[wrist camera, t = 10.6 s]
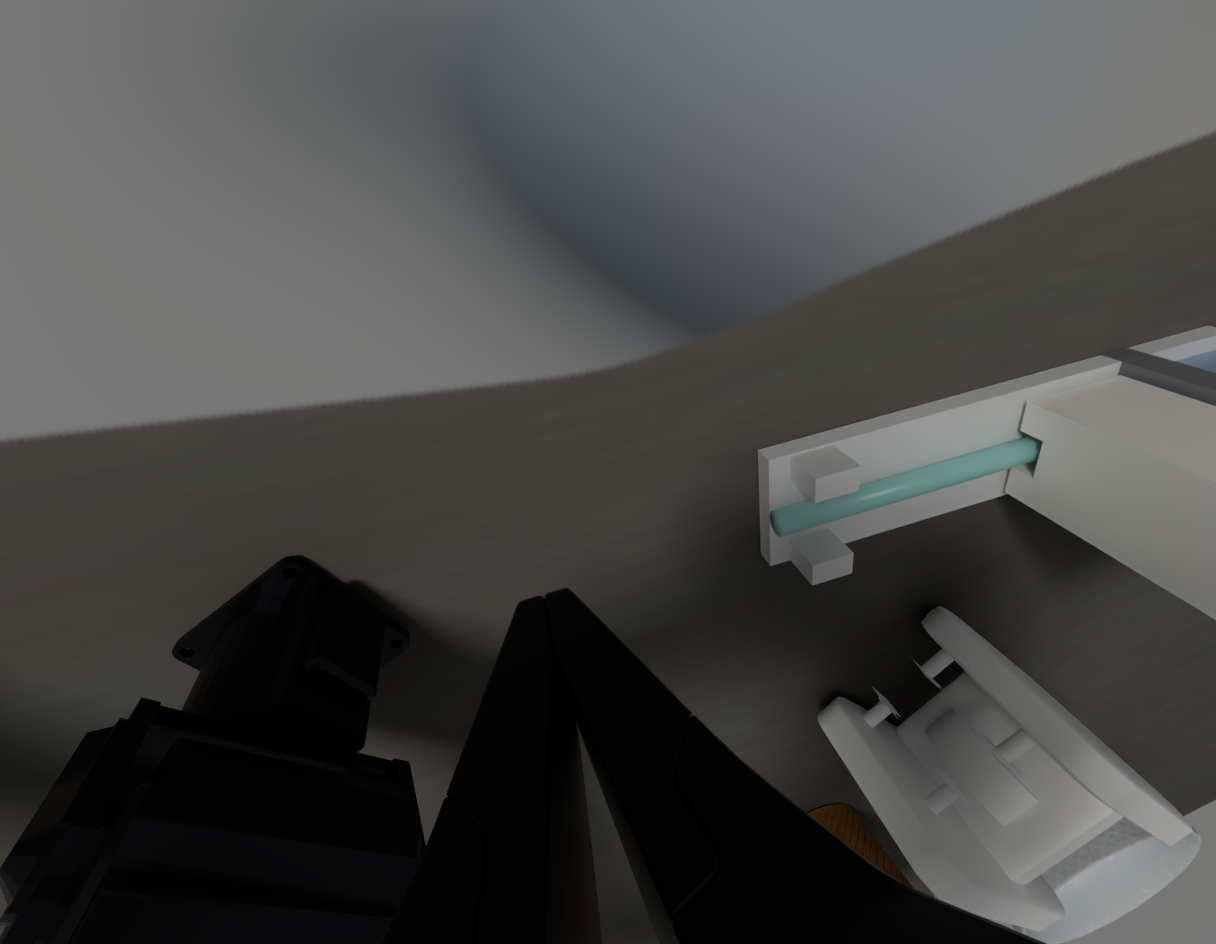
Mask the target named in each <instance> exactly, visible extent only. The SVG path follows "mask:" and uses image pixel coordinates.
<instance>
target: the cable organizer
mask: <svg viewBox="0 0 1216 944" xmlns="http://www.w3.org/2000/svg"><path fill="white" fill-rule="evenodd" d="M921 623H922V625H923V627H924V628H925V630H926V631H927V632H928V634H929V635H930V636H931V637H932V638H933V639H934V640H935V641H936V642H937V643H938V644H939V645H940V646H941V647H942V649H941V650H940V651H938V652H937V653H936V654H935V655H934V656H933V657H931V658H930V659H929V660H928V661H927V662H925V663H924V664H923V665H922V666H920V665H919V664H918V663H917V662H916V661H915V660H914V659H913V658H912V657H911V656H910V657H911V658H912V659H913V661H914V662H915V663H916V664H917V666H918V667H919V668H920V670H921V671H922V672H923V674H924V675H925V676H926V677H927V678H928V679H929V680H930V681H931V682H933V683H934V684H935V685H936V686H937V687H938V688H939V689H940V687H941V686H940V685H939V684H938V683H937V682H936V681H935V680H934V679H933V678H934V677H935V676H936V675H937V674H938V673H940V672H941V671H942V670H943V669H944V668H946V667H947V666H948V665H949V664H950V663H952V662H953V661H954V660H955V661H956V662H957V663H958V664H959V665H960V666H961V667H962V668H963V669H964V670H965V671H964V672H963V673H962V674H961V675H960V676H958V677H957V678H956V679H955V680H954V681H952V682H951V683H950V684H949V685H947V686H946V687H945V688H944V689H943V690H941V691H940V692H939V693H938V694H937V695H935V696H934V697H933V698H932V699H930V700H929V701H928V702H927V703H926V704H924V705H923V706H922V707H921V708H920V709H918V710H917V711H916V712H915V713H914V714H912V715H911V716H910V717H909V718H907V719H906V720H905V721H904V722H903V723H901V724H900V725H899V726H898V727H897V726H895V725H893V724H891V723H889V722H888V721H886V720H884V719H885V718H886V717H887V716H888V715H889V714H891V713H893V714H894V715H895V716H896V714H897V715H898V716H900V715H899V714H898V713H897V711H896V710H895V709H894V707H893V706H892V705H891V704H890V702H889V701H888V700H887V699H886V698H885V696H882V695H881V694H880V693H879V692H878V691H877V690H876V689H875V688H874V687H873V686H872V687H873V689H874V690H875V691H876V693H877V694H878V695H879V699H880V701H879V702H878V703H877V704H876V705H875V706H873V707H872V708H871V709H870V710H869V711H868V710H866V709H864V708H862V707H861V706H859V705H857V704H855V703H853V702H852V701H850V700H848V699H846V698H843V697H837V698H835V699H834V700H833V701H832V702H831V703H830V704H829V705H828V706H826V707H825V708H824V709H823V710H822V711H821V712H819V714H818V721H819V724H820V726H821V728H822V730H823V731H824V733H825V734H826V736H827V737H828V739H829V741H830V742H831V744H832V745H833V747H834V748H835V750H836V751H837V753H838V754H839V756H840V758H841V759H842V761H843V762H844V764H845V765H846V767H847V768H848V770H849V771H850V773H851V775H852V776H853V778H854V779H855V781H856V782H857V784H858V785H859V787H860V788H861V790H862V791H863V793H864V795H865V796H866V798H867V799H868V801H869V802H870V804H871V805H872V807H873V808H874V810H875V812H876V813H877V815H878V816H879V818H880V819H881V821H882V822H883V824H884V825H885V827H886V828H887V830H888V832H889V833H890V835H891V836H892V838H893V839H894V841H895V842H896V844H897V845H898V847H899V849H900V850H901V852H902V853H903V855H904V856H905V858H906V859H907V861H908V862H909V864H910V865H911V867H912V868H913V870H914V871H915V873H916V874H917V875H918V876H919V878H920V879H921V880H922V881H923V882H924V884H925V885H926V886H927V887H928V888H929V889H930V890H931V891H932V893H933V894H934V898H937V899H939V900H941V901H944V902H946V903H949V904H951V905H954V906H956V907H959V908H961V909H964V910H966V911H968V912H971V913H973V914H976V915H978V916H981V917H984V918H988V919H992V920H996V921H1000V922H1004V923H1008V924H1012V925H1016V926H1019V927H1023V928H1027V929H1031V930H1035V931H1042V930H1044V929H1045V928H1047V927H1048V926H1050V925H1051V924H1053V923H1054V922H1056V921H1057V920H1059V919H1060V918H1062V917H1063V916H1065V911H1064V908H1063V905H1062V903H1061V902H1060V900H1059V898H1058V897H1057V895H1056V894H1055V892H1054V891H1053V889H1052V888H1051V887H1050V885H1049V884H1048V883H1047V882H1046V881H1045V879H1044V878H1043V877H1042V876H1041V874H1042V873H1044V872H1045V871H1047V870H1048V869H1050V868H1051V867H1053V866H1054V865H1055V864H1057V863H1058V862H1060V861H1061V860H1063V859H1064V858H1066V857H1067V856H1069V855H1070V854H1071V853H1073V852H1074V851H1076V850H1077V849H1079V848H1080V847H1082V846H1083V845H1084V844H1086V843H1087V842H1089V841H1090V840H1092V839H1093V838H1095V837H1096V836H1097V835H1099V834H1100V833H1102V832H1103V831H1105V830H1106V829H1108V828H1109V827H1111V826H1112V825H1113V824H1115V823H1116V822H1118V821H1119V820H1120V819H1122V818H1123V817H1125V818H1126V819H1128V820H1129V821H1131V822H1133V823H1134V824H1136V825H1137V826H1139V827H1140V828H1142V829H1143V830H1145V831H1146V832H1148V833H1149V834H1151V835H1152V836H1154V837H1155V838H1157V839H1158V840H1160V841H1161V842H1163V843H1165V844H1166V845H1168V846H1172V845H1174V844H1175V843H1177V842H1178V841H1180V840H1181V839H1183V838H1184V837H1186V836H1187V835H1189V834H1190V833H1192V832H1193V829H1192V827H1191V826H1190V824H1189V823H1188V822H1187V820H1186V819H1185V818H1184V817H1183V816H1182V815H1181V814H1180V813H1179V812H1178V811H1177V810H1176V809H1175V808H1174V807H1173V806H1172V805H1171V804H1170V803H1169V802H1168V801H1167V800H1166V799H1165V798H1164V797H1163V796H1162V795H1161V794H1160V793H1159V792H1157V791H1156V790H1155V789H1154V788H1153V787H1152V786H1151V785H1150V784H1149V783H1147V782H1146V781H1145V780H1144V779H1143V778H1142V777H1141V776H1140V775H1138V774H1137V773H1136V772H1135V771H1134V770H1133V769H1132V768H1131V767H1130V766H1128V765H1127V764H1126V763H1125V762H1124V761H1123V760H1122V759H1121V758H1120V757H1118V756H1117V755H1116V754H1115V753H1114V752H1113V751H1112V750H1111V749H1110V748H1108V747H1107V746H1106V745H1105V744H1104V743H1103V742H1102V741H1101V740H1100V739H1098V738H1097V737H1096V736H1095V735H1094V734H1093V733H1092V732H1091V731H1090V730H1088V729H1087V728H1086V727H1085V726H1084V725H1083V724H1082V723H1081V722H1080V721H1078V720H1077V719H1076V718H1075V717H1074V716H1073V715H1072V714H1071V713H1070V712H1068V711H1067V710H1066V709H1065V708H1064V707H1063V706H1062V705H1061V704H1060V703H1058V702H1057V701H1056V700H1055V699H1054V698H1053V697H1052V696H1051V695H1050V694H1048V693H1047V692H1046V691H1045V690H1044V689H1043V688H1042V687H1041V686H1040V685H1038V684H1037V683H1036V682H1035V681H1034V680H1033V679H1032V678H1030V677H1029V676H1028V675H1027V674H1026V673H1024V672H1023V671H1022V670H1021V669H1020V668H1018V667H1017V666H1016V665H1015V664H1014V663H1013V662H1011V661H1010V660H1009V659H1008V658H1007V657H1005V656H1004V655H1003V654H1002V653H1001V652H999V651H998V650H997V649H996V648H995V647H993V646H992V645H991V644H990V643H989V642H987V641H986V640H985V639H984V638H983V637H981V636H980V635H979V634H978V633H977V632H976V631H974V630H973V629H972V628H971V627H970V626H968V625H967V624H966V623H965V622H964V621H962V620H961V619H960V618H958V617H957V616H956V615H954V614H953V613H952V612H950V611H949V610H947V609H945V608H943V607H941V606H938V607H937V608H936V609H933V610H932V611H930V612H929V613H928V614H927V615H926V618H924V619H923V620H922V621H921ZM939 686H940V687H939ZM941 688H942V687H941ZM895 713H896V714H895ZM900 717H901V716H900ZM896 718H897V716H896ZM897 719H898V718H897Z"/></svg>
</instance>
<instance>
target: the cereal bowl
mask: <svg viewBox="0 0 1216 944" xmlns="http://www.w3.org/2000/svg"><path fill="white" fill-rule="evenodd" d="M1190 826H1191V825H1190ZM1191 827H1192V826H1191ZM1192 829H1193V832H1192V833H1190V834H1189V835H1187V836H1186V837H1184V838H1183V839H1181V840H1180V841H1178V842H1177V843H1175V844H1174V845H1172V846H1168V845H1166V844H1165V843H1163V842H1161V841H1160V840H1158V839H1157V838H1155V837H1154V836H1152V835H1151V834H1149V833H1148V832H1146V831H1145V830H1143V829H1142V828H1140V827H1139V826H1137V825H1136V824H1134V823H1133V822H1131V821H1129V820H1128V819H1126V818H1125V817H1123V818H1122V819H1120V820H1119V821H1118V822H1116V823H1115V824H1113V825H1112V826H1111V827H1109V828H1108V829H1106V830H1105V831H1103V832H1102V833H1100V834H1099V835H1097V836H1096V837H1095V838H1093V839H1092V840H1090V841H1089V842H1087V843H1086V844H1084V845H1083V846H1082V847H1080V848H1079V849H1077V850H1076V851H1074V852H1073V853H1071V854H1070V855H1069V856H1067V857H1066V858H1064V859H1063V860H1061V861H1060V862H1058V863H1057V864H1055V865H1054V866H1053V867H1051V868H1050V869H1048V870H1047V871H1045V872H1044V873H1042V874H1041V876H1042V877H1043V878H1044V879H1045V881H1046V882H1047V883H1048V884H1049V885H1050V887H1051V888H1052V889H1053V891H1054V892H1055V894H1056V895H1057V897H1058V898H1059V900H1060V902H1061V903H1062V905H1063V908H1064V911H1065V916H1063V917H1062V918H1060V919H1059V920H1057V921H1056V922H1054V923H1053V924H1051V925H1050V926H1048V927H1047V928H1045V929H1044V930H1042V931H1035V930H1031V929H1027V928H1023V927H1019V926H1016V925H1012V926H1013V927H1014V928H1015V930H1016V931H1017V932H1020V933H1022V934H1025V935H1027V936H1030V937H1032V938H1035V939H1037V940H1039V941H1042V942H1044V943H1047V944H1061V943H1064V942H1067V941H1070V940H1073V939H1076V938H1079V937H1081V936H1084V935H1086V934H1088V933H1091V932H1093V931H1095V930H1097V929H1099V928H1101V927H1103V926H1105V925H1107V924H1109V923H1111V922H1113V921H1115V920H1116V919H1118V918H1120V917H1122V916H1123V915H1125V914H1126V913H1128V912H1130V911H1131V910H1133V909H1134V908H1136V907H1138V906H1139V905H1141V904H1142V903H1144V902H1145V901H1147V900H1148V899H1149V898H1151V897H1152V896H1153V895H1155V894H1156V893H1157V892H1159V891H1160V890H1161V889H1163V888H1164V887H1165V886H1166V885H1168V884H1169V883H1170V882H1171V881H1172V880H1174V879H1175V878H1176V877H1177V876H1178V875H1179V874H1180V873H1181V872H1182V871H1183V870H1184V869H1185V868H1186V867H1187V866H1188V865H1189V864H1190V862H1191V861H1192V860H1193V859H1194V857H1195V856H1196V854H1197V853H1198V851H1199V849H1200V846H1201V837H1200V835H1199V834H1198V832H1197V831H1196V830H1195V829H1194V828H1193V827H1192Z"/></svg>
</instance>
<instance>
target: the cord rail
mask: <svg viewBox="0 0 1216 944" xmlns="http://www.w3.org/2000/svg"><path fill="white" fill-rule="evenodd" d="M1119 375H1122V376H1125V377H1128V378H1131V379H1134V380H1137V381H1140V382H1143V383H1146V384H1149V385H1152V386H1155V387H1159V388H1162V389H1165V390H1168V391H1171V392H1174V393H1177V394H1180V395H1183V396H1186V397H1189V398H1192V399H1195V400H1198V401H1201V402H1204V403H1208V404H1211V405H1214V406H1216V327H1212V326H1205V327H1201V328H1198V329H1194V330H1190V331H1187V332H1183V333H1179V334H1176V335H1172V336H1169V337H1165V338H1161V339H1158V340H1154V341H1151V342H1147V343H1143V344H1140V345H1136V346H1132V347H1129V348H1125V349H1122V350H1118V351H1114V352H1111V353H1107V354H1103V355H1100V356H1096V357H1093V358H1089V359H1085V360H1082V361H1078V362H1074V363H1071V364H1067V365H1064V366H1060V367H1056V368H1053V369H1049V370H1046V371H1042V372H1038V373H1035V374H1031V375H1027V376H1024V377H1020V378H1017V379H1013V380H1009V381H1006V382H1002V383H998V384H995V385H991V386H988V387H984V388H980V389H977V390H973V391H970V392H966V393H962V394H959V395H955V396H951V397H948V398H944V399H941V400H937V401H933V402H930V403H926V404H922V405H919V406H915V407H912V408H908V409H904V410H901V411H897V412H893V413H890V414H886V415H883V416H879V417H875V418H872V419H868V420H865V421H861V422H857V423H854V424H850V425H846V426H843V427H839V428H836V429H832V430H828V431H825V432H821V433H817V434H814V435H810V436H807V437H803V438H799V439H796V440H792V441H788V442H785V443H781V444H778V445H774V446H770V447H767V448H763V449H760V450H758V473H759V509H760V544H761V555H762V556H763V557H764V559H765V560H766V561H767V562H768V564H769V565H770V566H773V565H776V564H780V563H783V562H786V561H789V560H791V561H792V562H793V564H794V565H795V566H796V567H797V568H798V570H799V571H800V572H801V573H802V574H803V575H804V577H805V578H806V579H807V580H808V581H809V583H810V584H811V585H812V586H813V585H816V584H819V583H822V582H826V581H829V580H832V579H835V578H839V577H842V576H845V575H848V574H851V573H852V568H853V556H854V553H853V552H852V551H851V550H850V549H849V548H848V547H847V546H846V545H845V543H849V542H852V541H855V540H858V539H862V538H865V537H868V536H872V535H875V534H878V533H881V532H885V531H888V530H891V529H895V528H898V527H901V526H904V525H908V524H911V523H914V522H918V521H921V520H924V519H927V518H931V517H934V516H937V515H941V514H944V513H947V512H950V511H954V510H957V509H960V508H964V507H967V506H970V505H973V504H977V503H980V502H983V501H987V500H990V499H993V498H996V497H1000V496H1003V495H1006V494H1007V493H1006V492H1005V489H1006V485H1007V481H1008V477H1009V473H1010V469H1011V468H1013V467H1017V466H1020V465H1023V464H1027V463H1030V462H1033V461H1037V460H1038V458H1039V454H1040V450H1041V447H1042V443H1043V441H1041V440H1039V439H1037V438H1035V437H1032V436H1030V435H1028V434H1026V433H1024V432H1022V431H1020V429H1021V425H1022V420H1023V416H1024V412H1025V408H1026V404H1027V401H1031V400H1034V399H1038V398H1041V397H1045V396H1048V395H1052V394H1055V393H1059V392H1062V391H1066V390H1070V389H1073V388H1077V387H1080V386H1084V385H1087V384H1091V383H1094V382H1098V381H1101V380H1105V379H1108V378H1112V377H1116V376H1119Z"/></svg>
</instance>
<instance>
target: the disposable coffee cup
mask: <svg viewBox="0 0 1216 944" xmlns="http://www.w3.org/2000/svg"><path fill="white" fill-rule="evenodd" d="M808 814H809V815H810V816H811V817H813V818H814V819H815V820H816V821H818V822H819V823H820V824H822V825H823V826H824V827H825V828H827V829H828V830H829V831H830V832H832V833H833V834H834V835H836V836H837V837H838V838H839V839H841V840H842V841H843V842H844V843H846V844H847V845H848V846H850V847H851V848H852V849H853V850H855V851H856V852H857V853H859V854H860V855H861V856H863V857H864V858H865V859H867V860H868V861H869V862H871V863H872V864H874V865H875V866H877V867H878V868H879V869H881V870H882V871H884V872H885V873H887V874H889V875H890V876H892V877H894V878H895V879H897V880H899V881H900V882H902V883H904V884H906V885H908V886H910V887H912V886H911V884H910V883H909V882H908V880H907V879H906V878H905V876H904V875H903V874H902V872H901V871H900V870H899V869H898V867H897V866H896V865H895V863H894V862H893V861H892V859H891V858H890V857H889V856H888V854H887V853H886V852H885V850H884V849H883V848H882V846H881V845H880V844H879V843H878V841H877V840H876V839H875V837H874V836H873V835H872V834H871V832H870V831H869V830H868V828H867V827H866V826H865V824H864V823H863V822H862V821H861V819H860V818H859V817H858V815H857V814H856V813H855V811H854V810H853V809H852V808H851V807H849V806H847V805H842V804H836V805H828V806H825V807H821V808H818V809H816V810H813V811H811V812H809V813H808ZM912 888H913V887H912Z"/></svg>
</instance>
